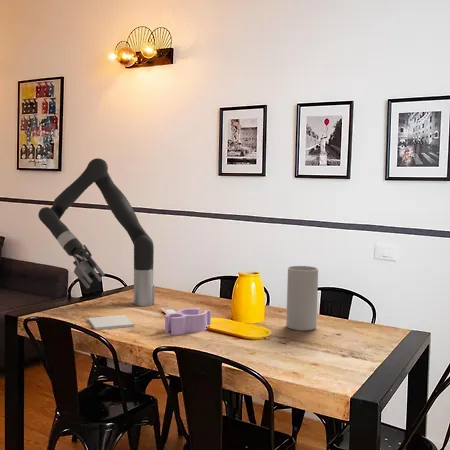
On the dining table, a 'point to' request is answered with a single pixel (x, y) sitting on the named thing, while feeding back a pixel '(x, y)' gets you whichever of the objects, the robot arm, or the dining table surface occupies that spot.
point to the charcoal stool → (87, 272)
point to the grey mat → (110, 322)
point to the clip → (187, 321)
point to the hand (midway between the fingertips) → (92, 270)
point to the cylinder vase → (302, 298)
